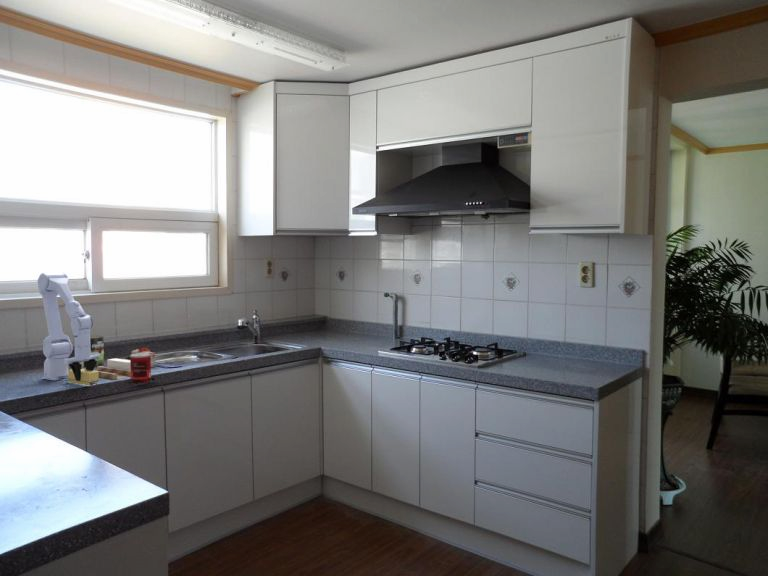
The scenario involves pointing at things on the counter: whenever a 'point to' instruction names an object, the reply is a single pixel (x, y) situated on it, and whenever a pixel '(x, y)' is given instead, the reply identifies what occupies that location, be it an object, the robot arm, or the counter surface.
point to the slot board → (112, 372)
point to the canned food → (140, 367)
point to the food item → (146, 350)
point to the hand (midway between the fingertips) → (83, 379)
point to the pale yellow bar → (84, 377)
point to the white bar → (119, 364)
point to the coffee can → (96, 349)
